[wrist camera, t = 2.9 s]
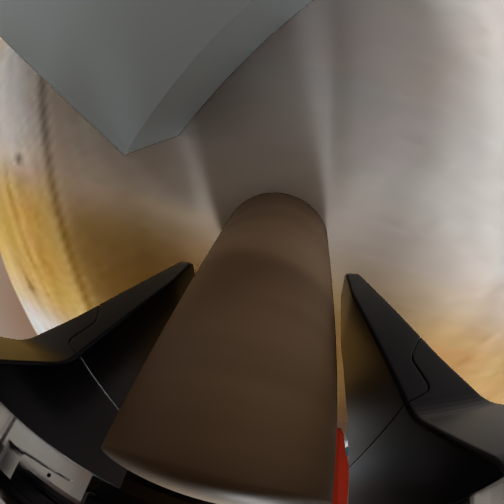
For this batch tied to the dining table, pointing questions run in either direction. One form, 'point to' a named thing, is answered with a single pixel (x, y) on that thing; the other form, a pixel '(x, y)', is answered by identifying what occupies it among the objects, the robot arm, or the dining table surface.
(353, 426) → the robot arm
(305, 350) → the walnut peg
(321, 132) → the dining table surface
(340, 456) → the toy rocket
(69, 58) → the socket block
